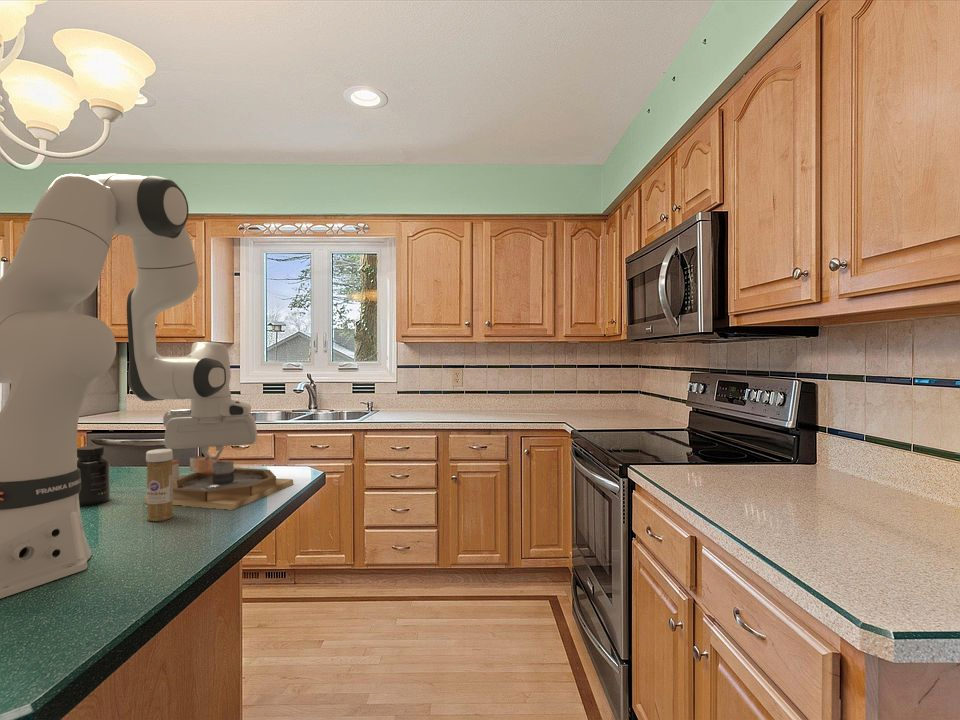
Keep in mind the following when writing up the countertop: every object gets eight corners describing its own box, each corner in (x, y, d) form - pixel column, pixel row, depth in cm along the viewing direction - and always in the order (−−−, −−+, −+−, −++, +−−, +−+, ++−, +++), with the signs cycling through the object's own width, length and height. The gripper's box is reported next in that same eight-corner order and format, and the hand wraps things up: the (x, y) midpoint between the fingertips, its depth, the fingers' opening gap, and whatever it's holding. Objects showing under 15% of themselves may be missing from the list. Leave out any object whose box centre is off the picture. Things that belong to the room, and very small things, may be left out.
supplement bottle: (63, 505, 117) (62, 449, 117) (95, 496, 124) (94, 443, 124) (86, 508, 115) (85, 451, 115) (117, 499, 122) (116, 445, 121)
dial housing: (232, 510, 113) (231, 494, 113) (144, 503, 119) (144, 487, 118) (293, 484, 135) (293, 470, 134) (216, 479, 140) (216, 466, 140)
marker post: (171, 490, 129) (170, 462, 128) (162, 490, 129) (162, 461, 129) (179, 488, 131) (178, 460, 131) (170, 487, 132) (170, 459, 131)
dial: (278, 484, 129) (277, 460, 129) (206, 500, 115) (206, 474, 115) (228, 472, 141) (227, 451, 141) (158, 486, 127) (157, 462, 127)
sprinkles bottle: (143, 523, 105) (142, 453, 105) (150, 516, 109) (149, 448, 109) (170, 520, 106) (169, 451, 106) (176, 514, 111) (175, 447, 110)
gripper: (159, 411, 127) (161, 471, 128) (255, 407, 133) (256, 464, 134) (166, 408, 133) (168, 464, 134) (257, 404, 139) (258, 458, 140)
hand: (213, 464), depth 134 cm, fingers closed
